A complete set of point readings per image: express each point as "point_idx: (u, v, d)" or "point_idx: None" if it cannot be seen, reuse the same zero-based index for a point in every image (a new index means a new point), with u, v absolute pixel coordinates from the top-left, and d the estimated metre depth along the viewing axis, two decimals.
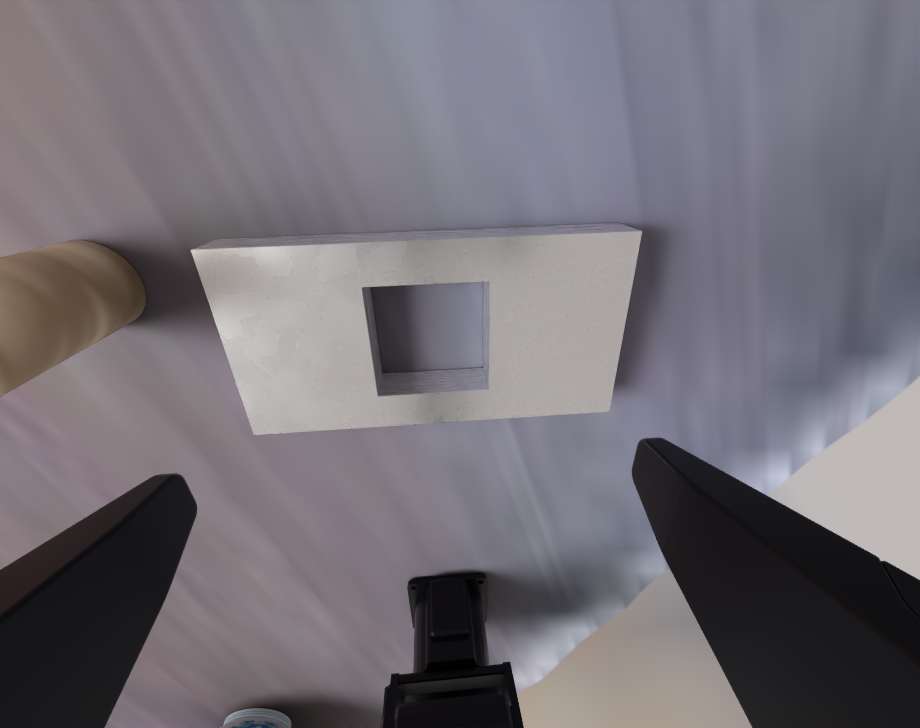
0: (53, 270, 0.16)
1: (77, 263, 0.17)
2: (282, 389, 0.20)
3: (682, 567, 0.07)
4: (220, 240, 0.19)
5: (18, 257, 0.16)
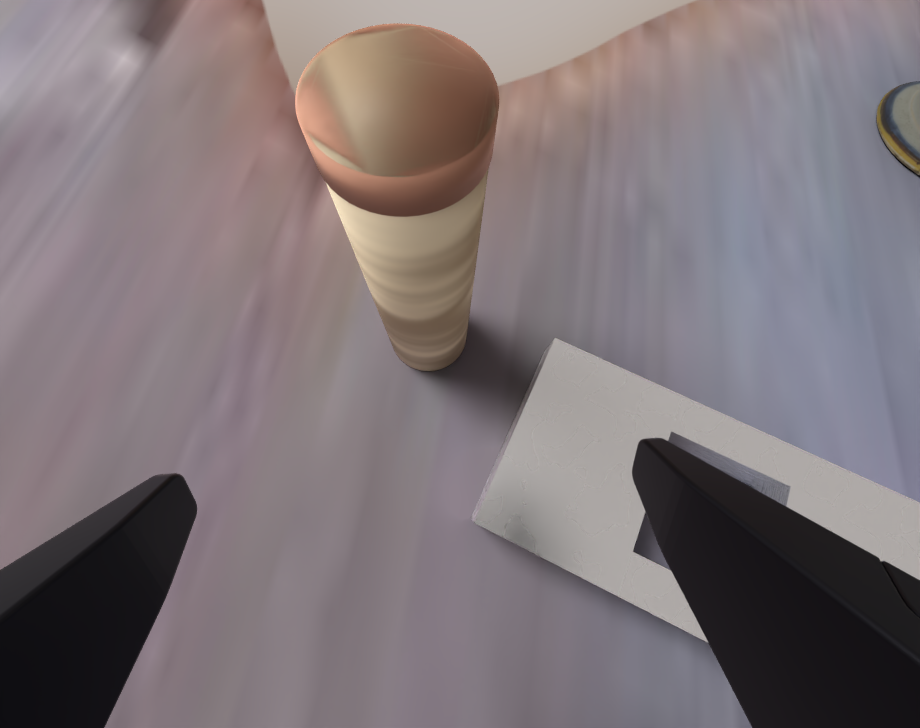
0: None
1: None
2: (541, 486, 0.18)
3: (682, 567, 0.07)
4: None
5: None
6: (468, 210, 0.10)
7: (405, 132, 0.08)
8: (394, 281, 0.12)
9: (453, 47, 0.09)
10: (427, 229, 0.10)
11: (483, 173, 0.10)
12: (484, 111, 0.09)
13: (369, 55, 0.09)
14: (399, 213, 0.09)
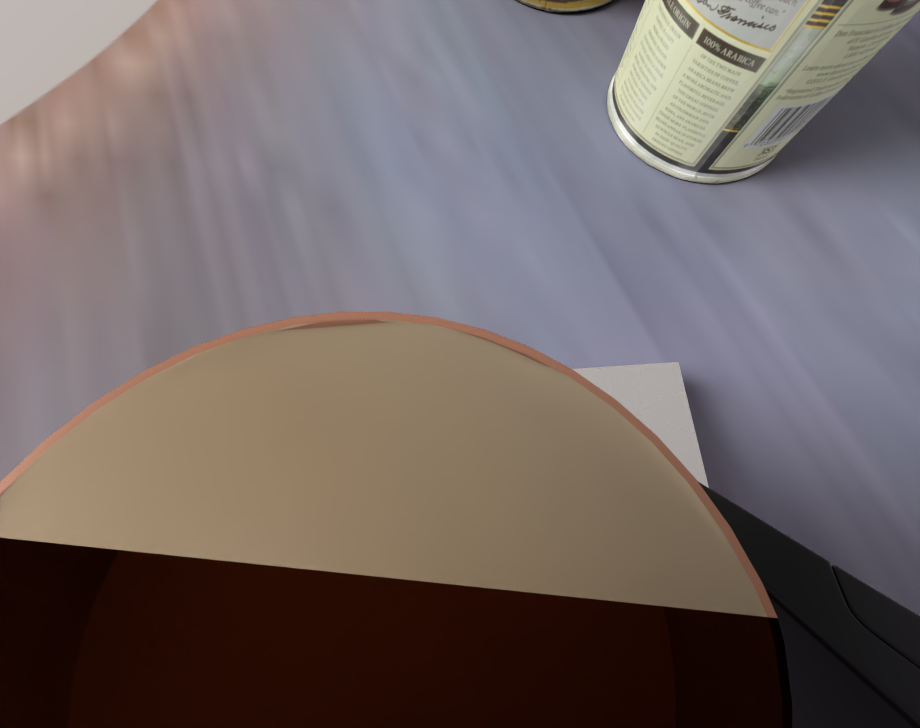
0: None
1: None
2: None
3: None
4: None
5: None
6: None
7: None
8: None
9: (576, 430, 0.02)
10: None
11: None
12: None
13: (220, 494, 0.02)
14: None
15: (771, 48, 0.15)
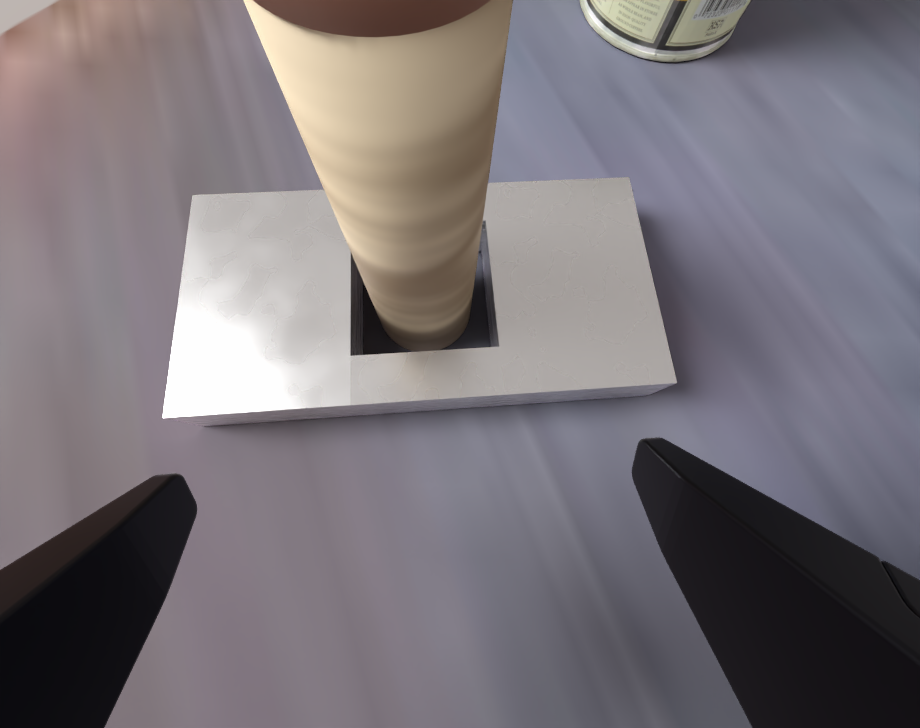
0: None
1: None
2: (228, 344, 0.16)
3: (682, 567, 0.07)
4: None
5: None
6: (482, 54, 0.06)
7: None
8: (370, 200, 0.09)
9: None
10: (414, 78, 0.06)
11: None
12: None
13: None
14: (361, 27, 0.05)
15: None
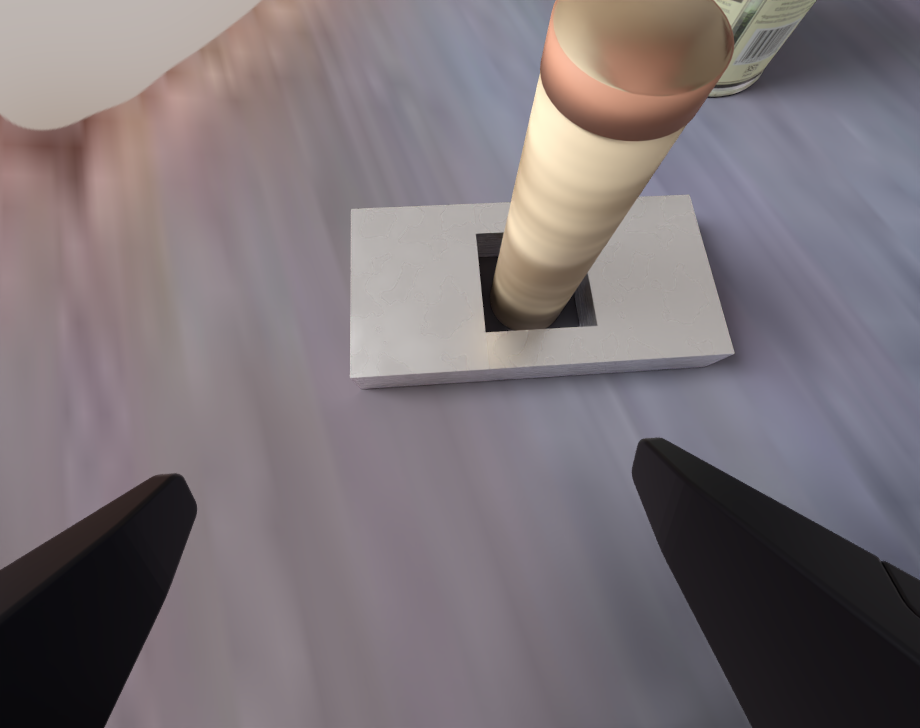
0: None
1: None
2: (392, 323, 0.21)
3: (682, 567, 0.07)
4: None
5: None
6: (674, 142, 0.11)
7: (656, 58, 0.09)
8: (571, 220, 0.13)
9: None
10: (642, 157, 0.11)
11: None
12: (722, 41, 0.10)
13: None
14: (634, 137, 0.10)
15: None
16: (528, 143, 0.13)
